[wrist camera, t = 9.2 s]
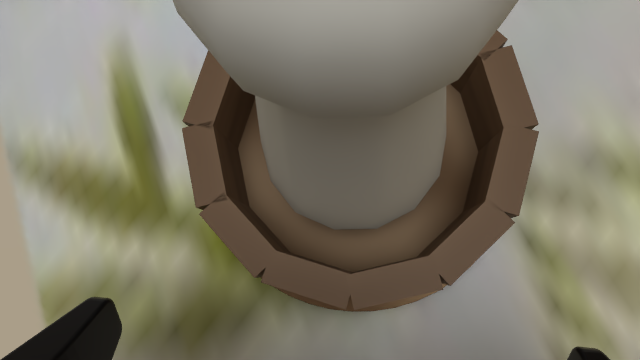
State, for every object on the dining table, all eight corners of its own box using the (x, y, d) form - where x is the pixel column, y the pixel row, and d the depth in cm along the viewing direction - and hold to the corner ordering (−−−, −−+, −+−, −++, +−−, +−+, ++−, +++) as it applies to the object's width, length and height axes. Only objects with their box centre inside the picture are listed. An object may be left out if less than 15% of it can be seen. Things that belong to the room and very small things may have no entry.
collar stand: (465, 350, 16) (499, 379, 12) (173, 255, 18) (118, 253, 14) (536, 59, 18) (587, 0, 14) (264, -4, 20) (238, -75, 16)
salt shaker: (250, 194, 17) (-81, -9, 4) (314, 61, 18) (198, -458, 5) (396, 261, 16) (537, 257, 3) (457, 118, 17) (766, -336, 4)
